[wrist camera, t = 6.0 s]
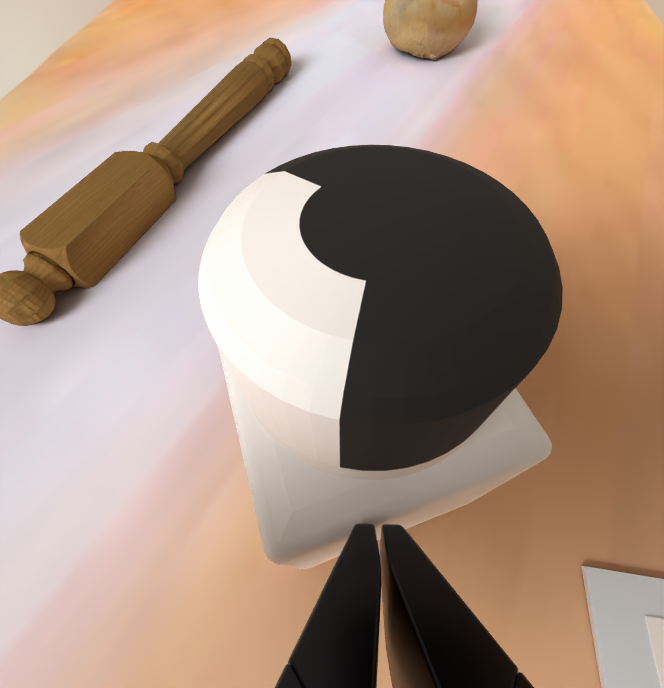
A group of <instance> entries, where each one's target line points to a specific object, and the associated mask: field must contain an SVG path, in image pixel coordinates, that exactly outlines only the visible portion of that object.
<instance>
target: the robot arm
mask: <svg viewBox="0 0 664 688" xmlns="http://www.w3.org/2000/svg"><path fill="white" fill-rule="evenodd" d="M381 587H382V601H383V615H384V629H385V641H386V650H387V657H388V663H389V669H390V675H391V681H392V686H393V688H534V687H533V686H532V684H531V683H530V682H529V681H528V680H527V678H526V677H525V676H524V675H523V673H521V672H519V673H518V668H517V666H516V665H515V664H514V663H513V661H512V660H511V659H510V658H509V656H508V655H507V654H506V653H505V652H504V650H503V649H502V648H501V647H500V645H499V644H498V643H497V642H496V640H495V639H494V638H493V637H492V636H491V634H490V633H489V632H488V631H487V629H486V628H485V627H484V626H483V625H482V623H481V622H480V621H479V620H478V618H477V617H476V616H475V615H474V613H473V612H472V611H471V610H470V609H469V607H468V606H467V605H466V604H465V602H464V601H463V600H462V599H461V597H460V596H459V595H458V594H457V593H456V591H455V590H454V589H453V588H452V586H451V585H450V584H449V583H448V582H447V580H446V579H445V578H444V577H443V575H442V574H441V573H440V572H439V570H438V569H437V568H436V567H435V566H434V564H433V563H432V562H431V561H430V559H429V558H428V557H427V556H426V554H425V553H424V552H423V551H422V550H421V548H420V547H419V546H418V545H417V543H416V542H415V541H414V540H413V538H412V537H411V536H410V535H409V534H408V532H407V531H406V530H405V529H404V527H403V526H401V525H399V524H384V525H382V527H381V544H380V556H379V549H378V543H377V536H376V530H375V526H374V525H373V524H364V523H357V524H355V526H354V527H353V529H352V531H351V533H350V535H349V537H348V539H347V541H346V544H345V546H344V548H343V550H342V552H341V554H340V556H339V558H338V560H337V562H336V564H335V566H334V568H333V570H332V572H331V574H330V576H329V578H328V580H327V582H326V584H325V586H324V589H323V591H322V593H321V595H320V597H319V599H318V601H317V603H316V605H315V607H314V609H313V611H312V613H311V615H310V617H309V619H308V621H307V623H306V625H305V627H304V629H303V631H302V634H301V636H300V638H299V640H298V642H297V644H296V646H295V648H294V650H293V652H292V654H291V656H290V658H289V661H288V664H287V665H286V666H285V668H284V670H283V672H282V674H281V676H280V678H279V680H278V682H277V684H276V686H275V688H377V667H378V645H379V622H380V599H381Z"/></svg>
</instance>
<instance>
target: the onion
mask: <svg viewBox="0 0 664 688" xmlns="http://www.w3.org/2000/svg"><path fill="white" fill-rule="evenodd" d="M476 12H477V0H385V4H384V11H383V23H384V29H385V32H386V34H387V36H388V39H389V40H390V42H391V44H392V45H393V46H394V47H395V48H396V49H397V50H400V51H405V52H407V53H408V52H409V53H411V54H412V55H413V56H416V57H417V56H418V57H421V58H427V59H428V58H429V59H431V60H433V61H434V60H436V59H438V58H441V57H442V56H445V55H446V54H447V53H449V52H450V51H452V50H453V49H454V48H455V47H456V46H457V45H458V44H459V43H461V41H462V40H463V39H464V38H465V37H466V35H467V34H468V33H469V31H470V29H471V27H472V25H473V23H474V20H475V17H476ZM433 58H434V59H433Z"/></svg>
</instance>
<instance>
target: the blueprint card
mask: <svg viewBox="0 0 664 688" xmlns="http://www.w3.org/2000/svg"><path fill="white" fill-rule="evenodd" d="M581 568H582V574H583V580H584V586H585V592H586V598H587V604H588V610H589V616H590V622H591V628H592V634H593V640H594V646H595V652H596V658H597V664H598V670H599V676H600V682H601V688H664V579H660V578H654V577H648V576H642V575H636V574H630V573H624V572H617V571H611V570H605V569H599V568H593V567H587V566H581Z"/></svg>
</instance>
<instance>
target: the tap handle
mask: <svg viewBox="0 0 664 688" xmlns="http://www.w3.org/2000/svg"><path fill="white" fill-rule="evenodd" d="M290 67H291V57H290V53H289V51H288V49H287V47H286V45H285V44H283V43H282V42H281V41H280V40H279V39H274V38H269V39H267V40H266V41H264V42H263V43H262V44H261V45H260V46H259V47H257V48H256V49H255V51H254V54H250V55H249V56H247V57H246V58H245V59H244V60H243V61H242V62H241V63H240V64H238V65H237V66H236V67H235V68H234V69H233V70H232V71H231V72H230V73H228V74H227V75H226V76H225V77H224V78H223V79H222V80H221V81H220V82H219V83H218V84H217V85H216V86H215V87H214V88H213V89H212V90H211V91H210V92H209V93H208V94H207V95H206V96H205V97H204V98H203V99H202V100H201V101H200V102H199V103H198V104H197V105H196V106H195V107H194V108H193V109H192V110H191V111H190V112H189V113H188V114H187V115H186V116H185V117H184V118H183V119H182V120H181V121H180V122H179V123H178V124H177V125H176V126H175V127H174V128H173V129H172V130H171V131H170V132H169V133H168V134H167V135H166V136H165V137H164V138H163V139H162V140H161V141H160V142H159V143H154V142H151V143H150V144H148V145H146V146H145V148H144V150H143V152H136V151H121V152H115V153H114V154H112V155H111V156H110V157H109V158H108V159H106V160H105V161H104V162H103V163H102V164H100V165H99V166H98V167H97V168H96V169H94V170H93V171H92V172H91V173H89V174H88V175H87V176H86V177H85V178H83V179H82V180H81V181H80V182H79V183H77V184H76V185H75V186H74V187H73V188H71V189H70V190H69V191H68V192H67V193H65V194H64V195H63V196H62V197H61V198H59V199H58V200H57V201H56V202H55V203H53V204H52V205H51V206H50V207H49V208H47V209H46V210H45V211H44V212H43V213H41V214H40V215H39V216H38V217H37V218H35V219H34V220H33V221H32V222H31V223H29V224H28V225H27V226H26V227H25V228H23V229H22V230H21V231H20V239H21V242H22V244H23V246H24V249H25V251H26V253H27V255H26V256H25V258H24V259H23V261H24V265H25V267H24V271H17V270H16V271H7V272H3V273H1V274H0V319H2V320H4V321H6V322H9V323H11V324H15V325H20V326H27V325H32V324H35V323H38V322H40V321H42V320H44V319H45V318H47V317H48V316H49V315H50V314H51V313H52V311H53V310H54V308H55V303H56V301H55V296H54V293H53V292H55V291H59V290H64V291H66V290H68V289H70V288H71V287H72V286H74V287H81V288H90V287H94V286H95V285H96V284H97V283H98V282H99V281H100V280H101V279H102V278H103V277H104V276H105V275H106V274H107V273H108V272H109V271H110V270H111V268H112V267H113V266H114V265H115V264H116V263H117V262H118V261H119V260H120V259H121V258H122V257H123V256H124V255H125V254H126V253H127V252H128V251H129V249H130V248H131V247H132V246H133V245H134V244H135V243H136V242H137V241H138V240H139V239H140V238H141V237H142V236H143V235H144V234H145V233H146V232H147V230H148V229H149V228H150V227H151V226H152V225H153V224H154V223H155V222H156V221H157V220H158V219H159V218H160V217H161V216H162V215H163V214H164V213H165V211H166V210H167V209H168V208H169V207H170V206H171V205H172V204H173V203H174V202H175V201H176V196H175V189H174V184H176V183H178V182H180V181H182V180H183V175H184V171H183V170H185V169H186V168H187V167H188V166H189V165H190V164H191V163H192V162H193V161H195V160H196V159H197V158H198V157H199V156H200V155H201V154H202V153H203V152H205V151H206V150H207V149H208V148H209V147H210V146H211V145H212V144H213V143H215V142H216V141H217V140H218V139H219V138H220V137H221V136H222V135H224V134H225V133H226V132H227V131H228V130H229V129H230V128H231V127H232V126H234V125H235V124H236V123H237V122H238V121H239V120H240V119H241V118H242V117H244V116H245V115H246V114H247V113H248V112H249V111H250V110H251V109H252V108H254V107H255V106H256V105H257V104H258V103H259V102H260V101H261V100H262V99H264V97H265V95H266V94H267V93H268V92H270V91H271V90H272V87H273V85H274V84H276V83H278V82H280V81H281V80H282V79H283V77H284V76H285V75H287V74H288V72H289V70H290ZM59 265H60V266H61V267H62V268H64V269H65V270H66V271H67V272H68V273H69V274H70V275H71V276H72V278H73V279H74V281H75V284H76V285H73V284H72V282H73V281H72V279H71V277H70V276H69V274H68V273H66V272H65V271H64V270H63V269H62V268H61V267H60V266H59Z"/></svg>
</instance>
